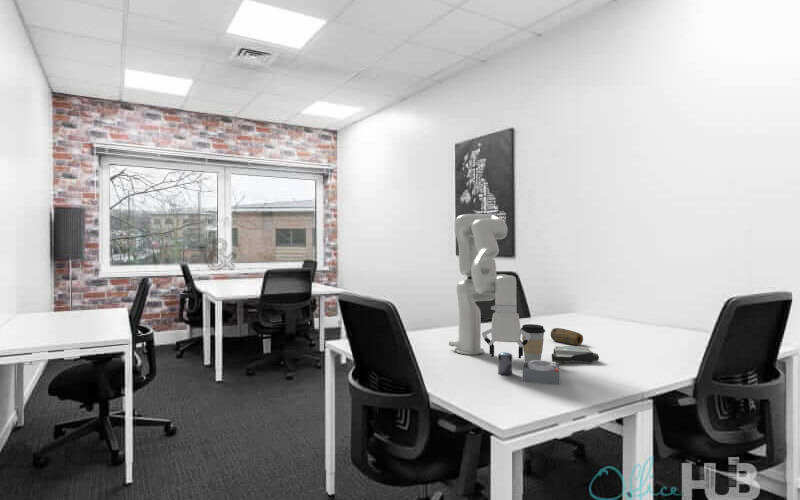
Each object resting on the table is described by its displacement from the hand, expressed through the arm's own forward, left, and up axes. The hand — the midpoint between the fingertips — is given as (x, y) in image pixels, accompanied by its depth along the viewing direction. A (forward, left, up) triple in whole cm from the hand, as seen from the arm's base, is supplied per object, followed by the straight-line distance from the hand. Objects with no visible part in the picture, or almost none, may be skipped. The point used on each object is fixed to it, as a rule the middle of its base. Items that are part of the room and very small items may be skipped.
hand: (506, 357), depth 171 cm
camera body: (+12, -2, -6) cm, 14 cm away
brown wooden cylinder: (+23, +65, -7) cm, 69 cm away
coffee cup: (+9, +19, -7) cm, 22 cm away
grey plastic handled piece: (+24, +31, -7) cm, 40 cm away
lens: (0, +1, -6) cm, 6 cm away
